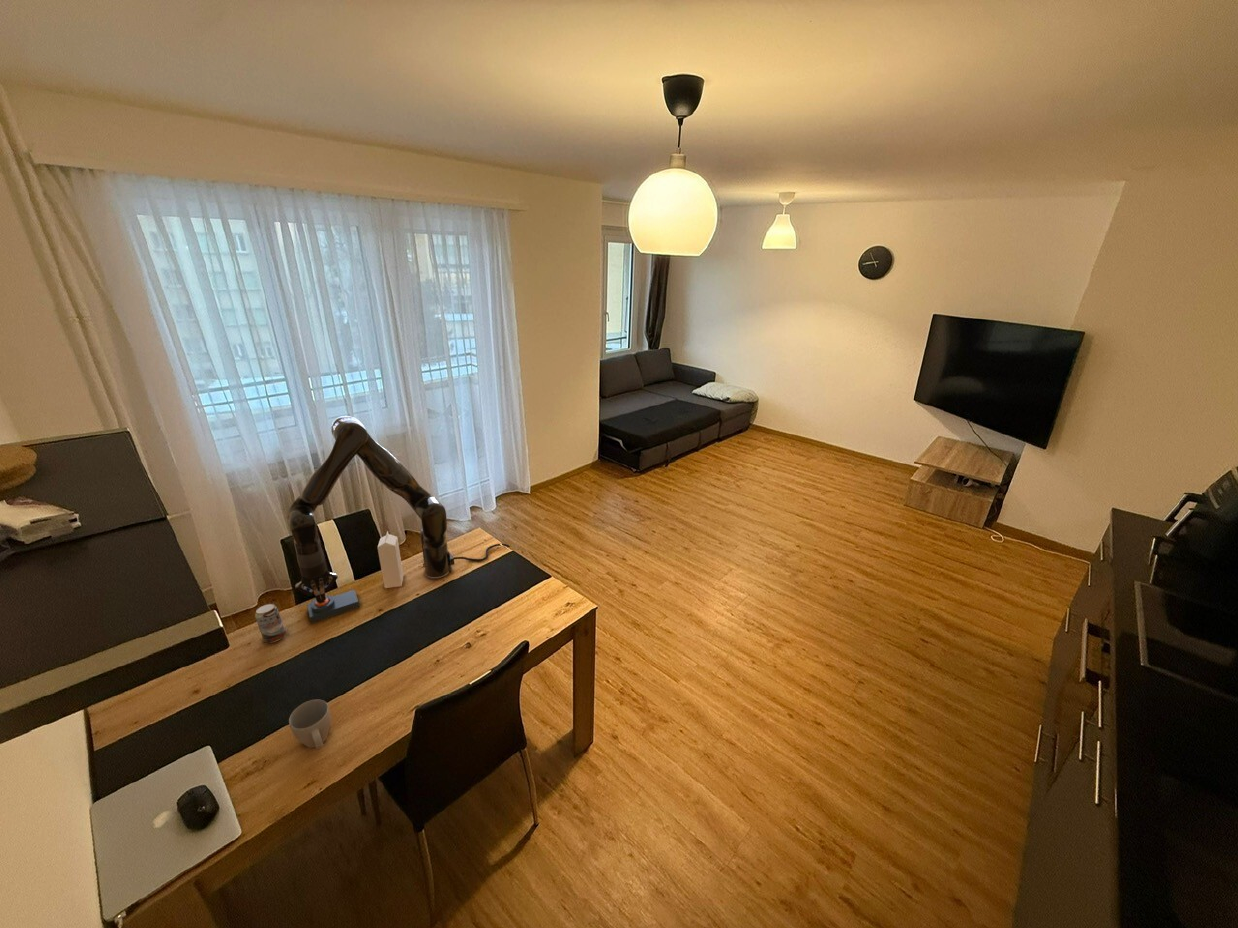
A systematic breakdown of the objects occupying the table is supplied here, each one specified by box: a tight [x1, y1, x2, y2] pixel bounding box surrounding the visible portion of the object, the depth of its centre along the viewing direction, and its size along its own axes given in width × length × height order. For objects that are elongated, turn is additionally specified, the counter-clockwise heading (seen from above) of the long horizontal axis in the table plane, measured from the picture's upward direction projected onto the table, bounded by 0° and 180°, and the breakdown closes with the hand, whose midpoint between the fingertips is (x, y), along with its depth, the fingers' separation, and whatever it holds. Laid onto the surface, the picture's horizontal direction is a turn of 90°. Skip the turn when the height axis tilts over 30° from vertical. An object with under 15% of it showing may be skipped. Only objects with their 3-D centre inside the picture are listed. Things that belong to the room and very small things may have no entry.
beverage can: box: [254, 603, 286, 644], centre depth 155 cm, size 6×7×12 cm
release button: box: [315, 598, 329, 607], centre depth 168 cm, size 4×4×2 cm
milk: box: [377, 530, 404, 589], centre depth 181 cm, size 6×6×22 cm
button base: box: [306, 589, 360, 624], centre depth 170 cm, size 15×8×4 cm, turn 127°
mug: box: [288, 698, 332, 751], centre depth 125 cm, size 12×9×10 cm
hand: (321, 601), depth 167 cm, fingers closed
